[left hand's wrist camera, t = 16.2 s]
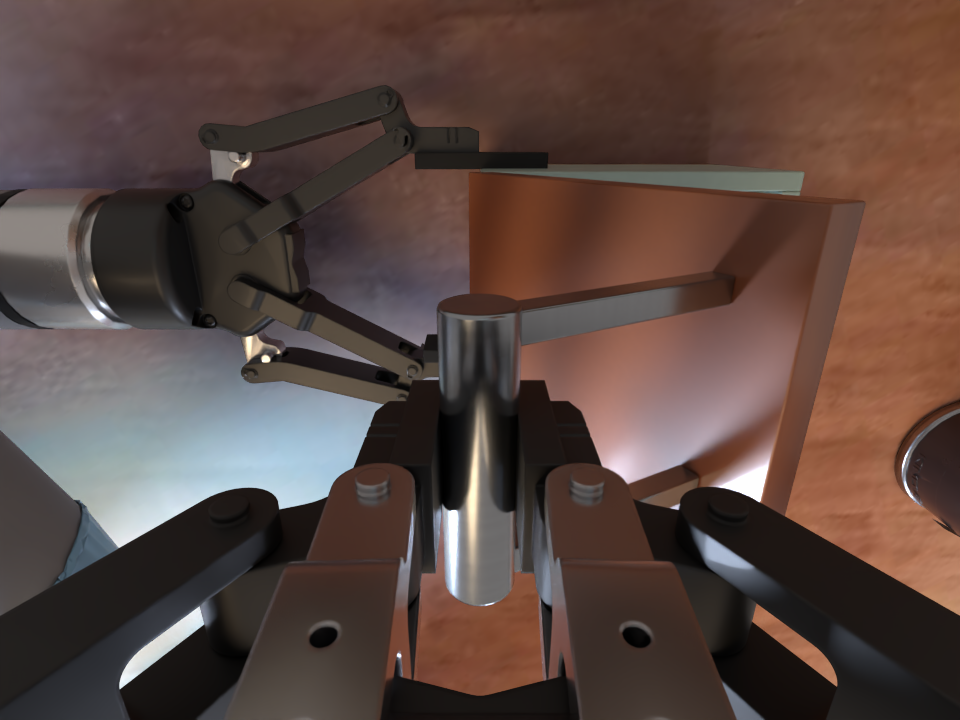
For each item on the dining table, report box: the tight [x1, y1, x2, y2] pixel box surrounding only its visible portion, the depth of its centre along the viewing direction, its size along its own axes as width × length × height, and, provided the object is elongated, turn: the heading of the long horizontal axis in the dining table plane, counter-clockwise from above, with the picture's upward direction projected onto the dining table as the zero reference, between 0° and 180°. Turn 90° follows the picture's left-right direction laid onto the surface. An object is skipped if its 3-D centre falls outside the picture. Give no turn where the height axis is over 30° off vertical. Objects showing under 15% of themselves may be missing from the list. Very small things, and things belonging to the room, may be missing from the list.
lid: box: [437, 172, 865, 606], centre depth 17 cm, size 15×10×8 cm
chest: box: [480, 164, 804, 196], centre depth 30 cm, size 14×10×11 cm
